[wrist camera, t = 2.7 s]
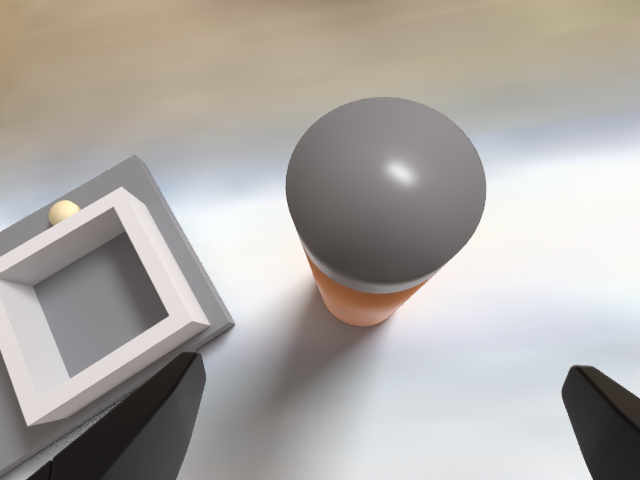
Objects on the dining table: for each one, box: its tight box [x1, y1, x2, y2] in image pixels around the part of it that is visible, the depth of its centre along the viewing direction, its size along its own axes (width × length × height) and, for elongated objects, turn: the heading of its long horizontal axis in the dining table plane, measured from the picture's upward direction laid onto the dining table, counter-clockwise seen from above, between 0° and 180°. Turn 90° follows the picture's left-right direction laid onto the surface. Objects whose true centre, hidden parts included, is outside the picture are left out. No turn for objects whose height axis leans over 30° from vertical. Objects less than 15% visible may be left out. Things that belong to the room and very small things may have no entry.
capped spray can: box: [286, 97, 486, 327], centre depth 15 cm, size 5×5×13 cm
